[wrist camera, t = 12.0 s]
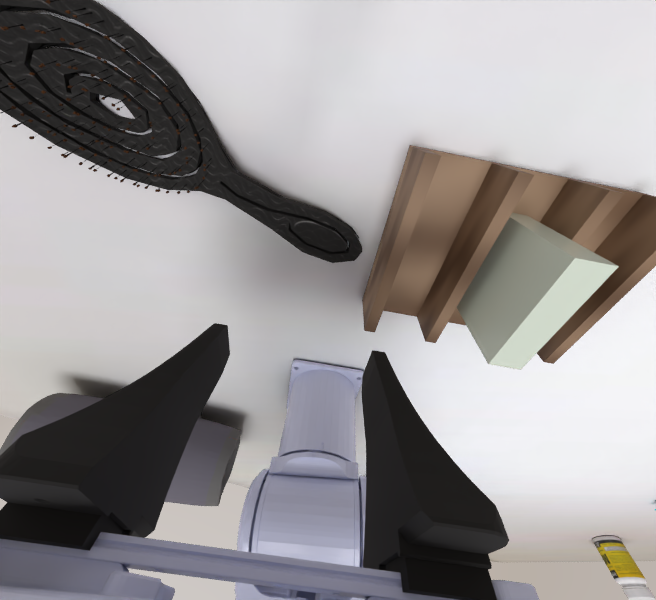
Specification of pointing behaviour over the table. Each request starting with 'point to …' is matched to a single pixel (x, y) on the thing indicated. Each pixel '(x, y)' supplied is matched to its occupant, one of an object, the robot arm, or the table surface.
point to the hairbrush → (161, 115)
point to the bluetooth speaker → (195, 464)
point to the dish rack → (484, 228)
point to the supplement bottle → (623, 567)
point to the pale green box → (528, 290)
